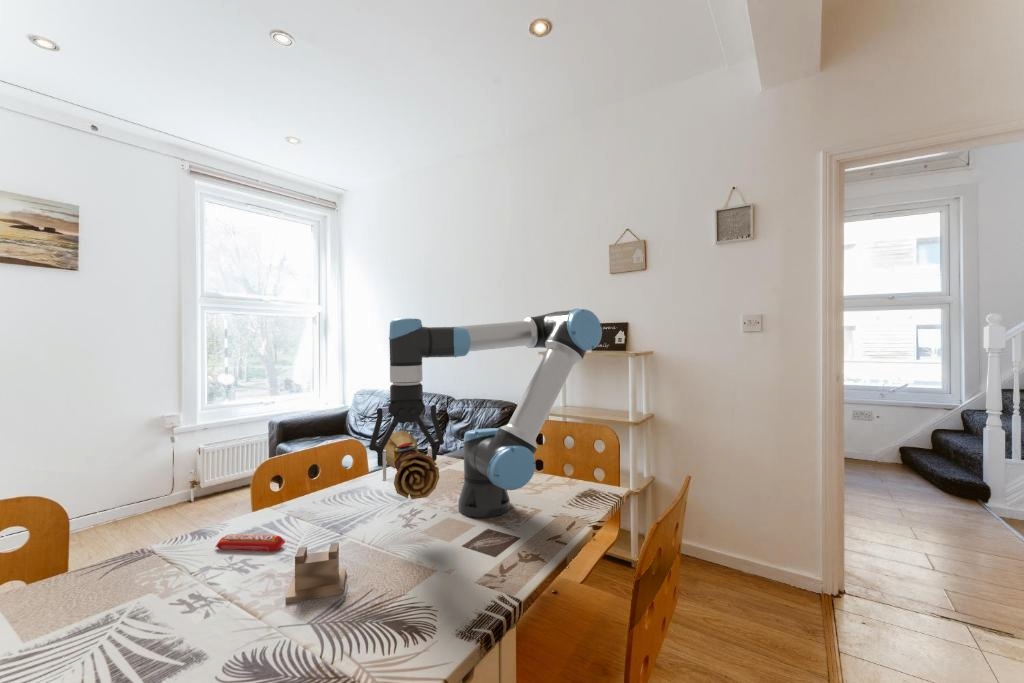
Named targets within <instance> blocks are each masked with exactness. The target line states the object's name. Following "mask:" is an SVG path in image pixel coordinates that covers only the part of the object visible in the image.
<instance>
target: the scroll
mask: <svg viewBox="0 0 1024 683" xmlns="http://www.w3.org/2000/svg"><path fill="white" fill-rule="evenodd" d="M383 450H386V465H388V466H390V467H391V468H392V469H396V473H395V476H394V479H393V480H394V481H393V485H394V488H395V491H396V494H398V495H399V496H402V497H403V498H406V499H408V498H409V497H410V499H411V500H416V499H425V498H428V497H429V496H430V494H432V493H433V492H434V491H435V490H436V488H437V485H438V482H439V479H440V469H439V467H438V466H437V465H438V464H437V462H436V461H434V460H433V459H432V458H431V457H430V456H428V454H424V453H422V452H419V447H418V441H417V440H416V439H415V437H414V436H413V435H412V433H410V432H409V431H405V430H399V431H396V432H393V433H392V435H391V437H390V438H389V440H388V442H387V444H386V446H385V447H384V449H383Z"/></svg>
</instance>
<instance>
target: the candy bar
mask: <svg viewBox="0 0 1024 683" xmlns="http://www.w3.org/2000/svg"><path fill="white" fill-rule="evenodd" d="M285 543H286V541H285V539H283V537H281V536H280V535H272V534H235V533H234V534H233V533H232V534H227V535H225V536H223V537H221V538H220V539H219V541H218V542H217V543H216V544H215V547H214V548H217V549H218V550H220V551H231V552H232V551H233V552H238V551H239V552H261V553H263V552H267V553H270V552H271V553H272V552H273V553H274V552H276V551H278V550H280V549H281V548H282V546H283V545H285Z"/></svg>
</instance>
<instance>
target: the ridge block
mask: <svg viewBox="0 0 1024 683" xmlns="http://www.w3.org/2000/svg"><path fill="white" fill-rule="evenodd" d="M339 543H340V542H331V543H330V545H329V549H328V550H325V551H319V552H311V553H308V546H299V547H298V548H297V551H296V553H295V555H294V575H293V577H292V580H291V583H290V584H289V588H288V591H287V593H286V596H285V604H289V603H296V602H301V601H307V600H313V599H319V598H325V597H330V596H331V597H332V596H337V595H344V588H345V582H346V575H347V568H346V567H343V568H340V567H339V565H340V561H339V558H340V557H339V556H340V548H339V547H340V546H339Z"/></svg>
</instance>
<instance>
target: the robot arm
mask: <svg viewBox="0 0 1024 683" xmlns="http://www.w3.org/2000/svg"><path fill="white" fill-rule="evenodd" d="M388 334H389V337H388V340H389V382H390V383H391V385H390V386H389V390H390V391H389V396H390V398H389V399H390V402H389V405H388V406H384V407H383V406H378V407H377V408H376V420H375V425H374V428H373V431H372V435H371V439H370V441H369V445H368V446H369V447H368V448H369V451H372V452H373V451H374V452H376V453H377V455H376V456H377V457H376V458H377V466H378V467H382V481H383V482H385V481H387V461H386V450H383V449H384V447H385V446H386V444H387V442H388V440H389V438H390V437H391V435H392V433H394V431H395V429H396V427H398V424H405V423H410V424H411V423H415V422H416V423H417V425H418V427H419V428H420V430H421V432H422V433H423V435H424V436H425V438H426V440H427V441H428V443H429V444H430V445H429V446H427V456H430V457H431V458H432V459H433V460H434V461H435V462H436V461H437V458H438V457H437V451H438V450H437V448H438V447H439V446H442V445H444V444H445V440H444V436H443V433H442V430H441V427H440V424H439V420H438V417H437V406H436V405H435V403H431V404H425V403H424V398H423V392H424V391H423V388H424V387H423V384H422V383H421V382H423V359H424V358H425V359H426V358H427V359H428V358H459V357H466V356H467V355H468V354H469V353H470V352H477V351H486V350H487V351H488V350H495V349H505V348H506V349H507V348H516V347H526V348H528V349H534V348H535V349H536V348H542V349H543V348H544V349H546V351H545V353H544V355H543V357H542V359H541V361H540V363H539V365H538V366H537V369H536V371H535V372H534V374H533V376H532V377H531V380H530V381H529V383H528V385H527V386H526V387H527V388H526V389H525V390H524V392H523V395H522V396H521V399H520V400H519V402H518V404H517V406H516V408H515V410H514V412H513V414H512V416H510V419H509V421H508V422H507V424H505V425H502V426H500V427H497V428H495V427H493V428H492V427H491V428H490V427H489V428H488V427H487V428H475V429H470V430H468V431H465V433H464V435H463V436H464V438H463V443H462V444H463V472H464V473H463V476H464V477H463V478H464V479H463V485H462V488H461V490H460V495H459V498H458V502H457V503H458V504H457V505H458V506H457V508H458V511H459V512H460V514H463V515H464V516H467V517H471V518H480V519H482V518H493V517H497V516H498V517H499V516H501V515H503V514H506V513H507V512H508V511H510V508H511V500H510V496H509V493H508V491H515V490H518V489H521V488H523V487H525V486H526V485H527V484H528V483H529V482H530V481H531V480H532V478H533V476H534V474H535V471H536V467H537V466H536V458H535V454H536V451H537V450H538V445H537V441H536V440H537V437H538V436H539V434H540V432H541V430H542V428H543V426H544V424H545V422H546V420H547V418H548V416H549V415H550V414H549V413H550V412H551V410H552V408H553V406H554V403H555V402H556V400H557V398H558V397H559V394H560V392H561V391H562V388H563V386H564V384H565V382H566V380H567V378H568V376H569V375H570V373H571V371H572V369H573V366H574V365H576V364H579V363H581V362H582V361H583V359H584V357H585V355H586V353H587V351H591V350H593V349H595V348H597V346H598V345H599V344H600V343H601V340H602V336H603V328H602V326H601V321H600V320H599V317H598V316H597V315H596V314H595V313H594V312H593V311H591V310H588V309H586V308H574V309H571V310H560V311H553V312H548V313H546V314H542V315H537V316H529V317H525V318H524V319H523V320H521V321H506V322H505V321H504V322H495V323H486V324H471V325H460V326H438V327H437V326H435V327H430V326H429V327H428V326H423V323H422V320H421V319H420V318H410V317H408V318H407V317H406V318H405V317H404V318H403V317H402V318H394V319H392V320H391V321H390V323H389V333H388ZM424 411H426V412H427V414H429V416H430V417H429V418H430V420H431V422H432V426H433V430H434V432H435V433H434V434H435V436H436V439H434V438H433V436H432V434H431V433H430V432H429V429H428V428H427V426H426V425H425V423H424V421H423V420H422V418H421V415H422V413H423V412H424ZM387 412H388V413H390V415H391V416H392V417H393V418H392V419H391V421H390V424H389V426H388V428H387V429H386V430H385V433H384V434H383V437H382V438H381V440H380V442H379V444H377V442H378V438H379V434H380V431H381V428H382V427H381V426H382V422H383V419H384V418H383V417H386V415H387Z"/></svg>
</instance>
